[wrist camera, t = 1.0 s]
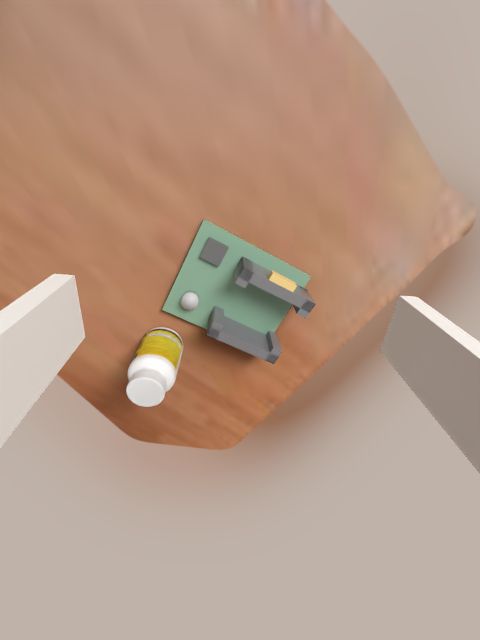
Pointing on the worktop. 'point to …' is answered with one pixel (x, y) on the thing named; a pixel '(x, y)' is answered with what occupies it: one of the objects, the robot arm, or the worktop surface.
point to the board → (227, 282)
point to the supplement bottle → (154, 366)
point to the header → (244, 335)
